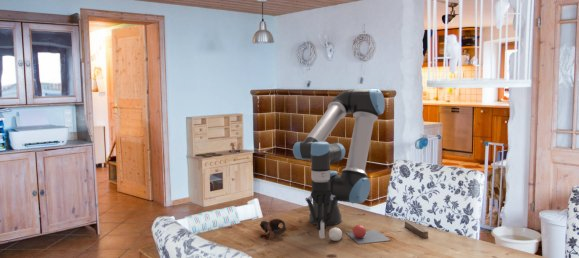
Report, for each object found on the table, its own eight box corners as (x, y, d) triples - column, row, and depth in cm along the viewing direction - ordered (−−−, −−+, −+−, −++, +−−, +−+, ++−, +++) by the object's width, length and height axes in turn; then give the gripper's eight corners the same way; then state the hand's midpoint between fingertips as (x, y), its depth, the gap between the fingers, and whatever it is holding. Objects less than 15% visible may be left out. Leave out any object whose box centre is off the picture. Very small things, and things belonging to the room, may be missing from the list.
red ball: (355, 220, 198) (366, 223, 199) (349, 229, 200) (361, 232, 202) (357, 230, 193) (369, 233, 194) (351, 239, 196) (363, 242, 197)
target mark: (358, 244, 190) (358, 243, 190) (346, 233, 204) (346, 233, 204) (390, 240, 193) (390, 240, 193) (376, 230, 207) (376, 229, 207)
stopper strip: (422, 238, 196) (422, 232, 195) (404, 226, 211) (404, 221, 211) (428, 237, 196) (428, 231, 196) (409, 226, 212) (409, 220, 211)
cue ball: (340, 223, 195) (345, 235, 196) (328, 226, 198) (333, 237, 199) (337, 230, 191) (342, 242, 192) (325, 232, 193) (329, 244, 194)
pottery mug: (288, 233, 208) (290, 220, 203) (280, 248, 201) (282, 235, 196) (263, 224, 211) (263, 211, 206) (254, 240, 203) (255, 226, 198)
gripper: (307, 183, 186) (308, 241, 189) (339, 181, 189) (340, 238, 192) (302, 179, 194) (303, 236, 196) (333, 177, 197) (334, 232, 199)
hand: (321, 237), depth 194 cm, fingers closed
